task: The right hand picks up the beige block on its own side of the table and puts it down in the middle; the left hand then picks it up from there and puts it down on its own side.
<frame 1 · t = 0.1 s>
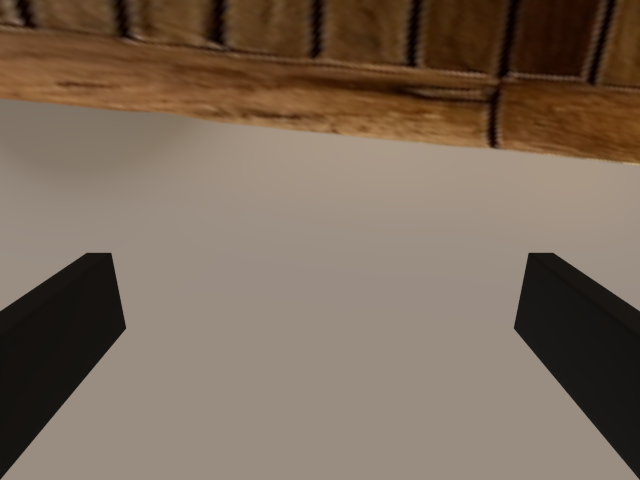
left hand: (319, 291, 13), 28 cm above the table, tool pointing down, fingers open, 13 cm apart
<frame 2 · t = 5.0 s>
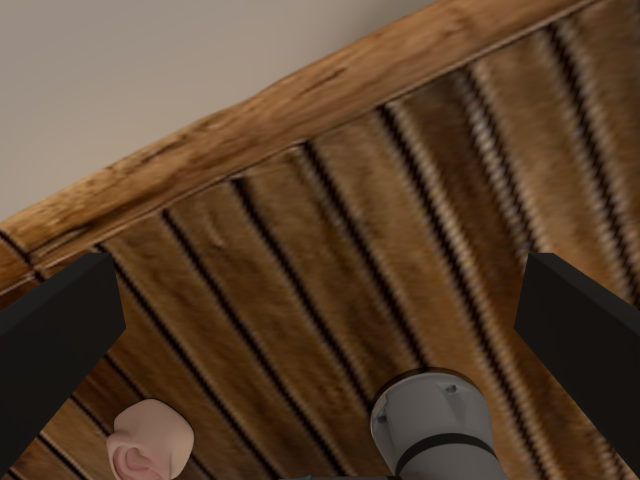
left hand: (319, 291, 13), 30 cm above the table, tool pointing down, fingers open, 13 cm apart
anatomical model: (153, 438, 54), on the table
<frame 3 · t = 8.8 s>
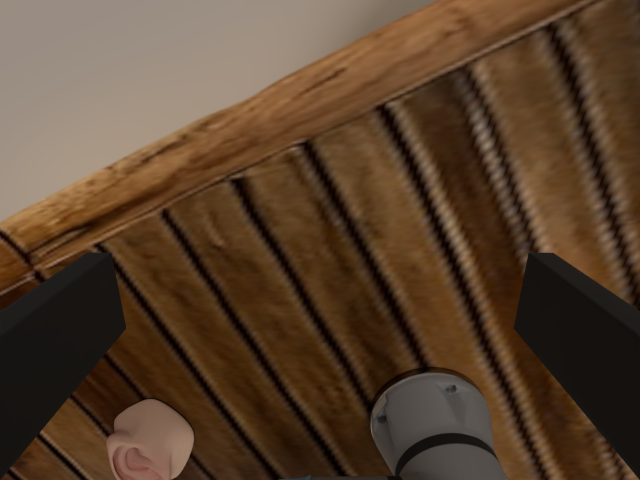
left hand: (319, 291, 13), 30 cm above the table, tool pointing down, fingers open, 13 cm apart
anatomical model: (153, 438, 54), on the table
when the right hand's fingers open (3 cm above the table, at t = 12.5 s): beige block drops 2 cm, on the table.
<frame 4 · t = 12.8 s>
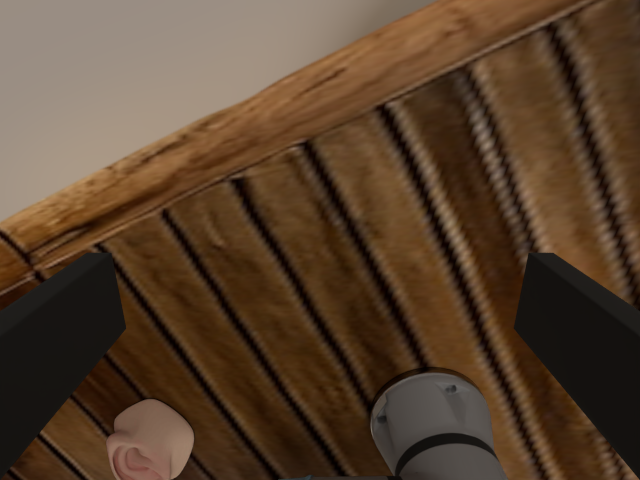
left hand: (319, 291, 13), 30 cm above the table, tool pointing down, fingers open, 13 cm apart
anatomical model: (153, 438, 54), on the table
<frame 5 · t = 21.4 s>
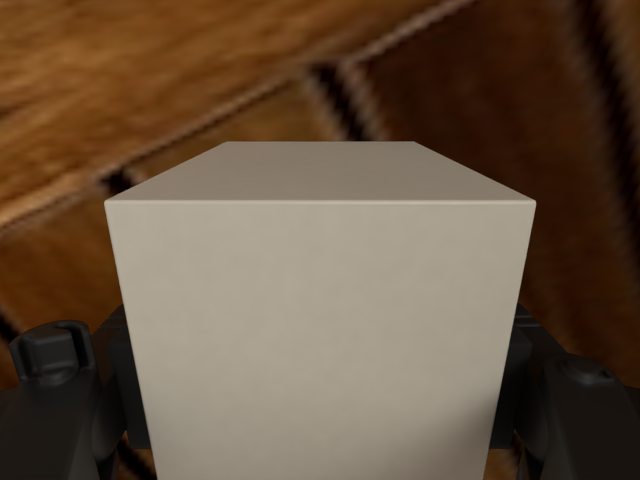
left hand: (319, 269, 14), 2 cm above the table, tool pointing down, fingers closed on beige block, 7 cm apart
beige block: (320, 253, 16), on the table, touching left hand
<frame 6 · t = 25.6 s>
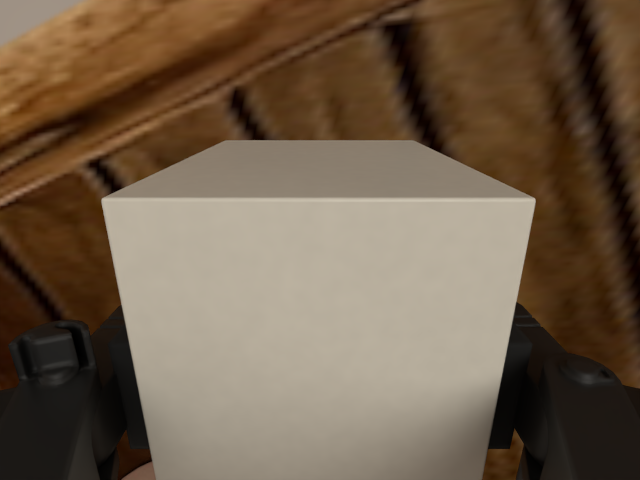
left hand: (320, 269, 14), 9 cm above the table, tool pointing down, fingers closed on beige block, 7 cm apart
beige block: (319, 252, 16), point 8 cm above the table, touching left hand
when the left hand's fingers open (3 cm above the table, at t = 29.7 s): beige block drops 2 cm, on the table.
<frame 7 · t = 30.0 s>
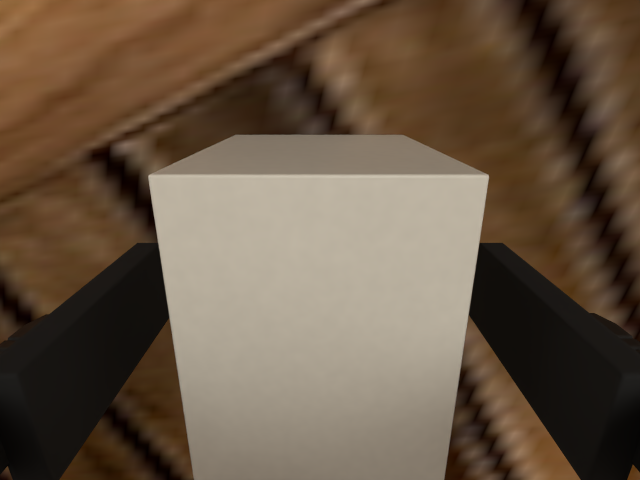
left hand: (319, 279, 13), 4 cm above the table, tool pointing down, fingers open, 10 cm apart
beige block: (319, 236, 17), on the table
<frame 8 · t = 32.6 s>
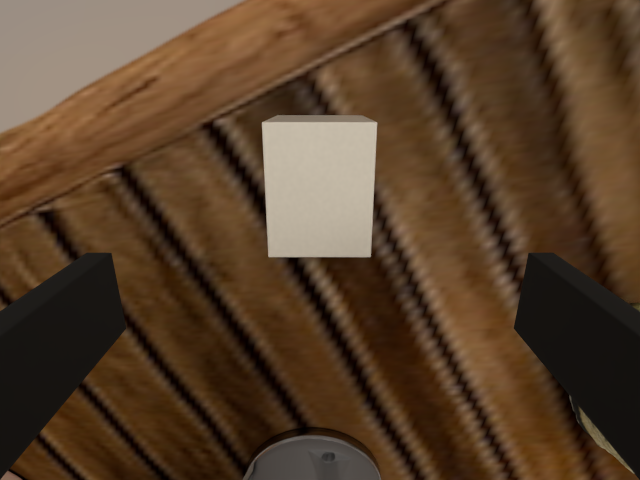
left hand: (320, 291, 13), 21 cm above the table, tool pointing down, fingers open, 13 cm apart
fossil: (605, 360, 39), on the table
beige block: (319, 169, 33), on the table
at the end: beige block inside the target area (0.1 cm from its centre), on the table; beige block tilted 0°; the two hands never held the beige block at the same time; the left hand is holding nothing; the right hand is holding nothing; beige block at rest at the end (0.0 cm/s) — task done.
